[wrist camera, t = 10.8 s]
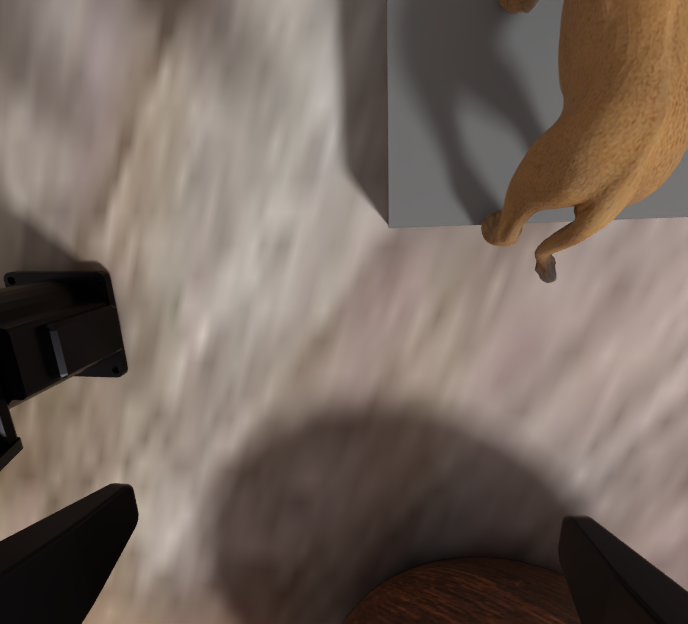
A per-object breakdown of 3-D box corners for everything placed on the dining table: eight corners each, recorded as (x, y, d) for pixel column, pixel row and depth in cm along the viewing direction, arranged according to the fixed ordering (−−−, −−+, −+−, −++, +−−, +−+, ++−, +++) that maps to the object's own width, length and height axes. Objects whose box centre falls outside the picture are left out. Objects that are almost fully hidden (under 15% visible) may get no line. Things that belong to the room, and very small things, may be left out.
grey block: (388, 224, 19) (388, 228, 15) (385, -109, 15) (385, -215, 12) (633, 215, 18) (701, 216, 14) (695, -156, 14) (811, -295, 10)
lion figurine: (448, -141, 12) (613, -1074, 3) (625, -198, 11) (1461, -1638, 2) (481, 288, 15) (600, 382, 7) (616, 269, 15) (944, 349, 6)
